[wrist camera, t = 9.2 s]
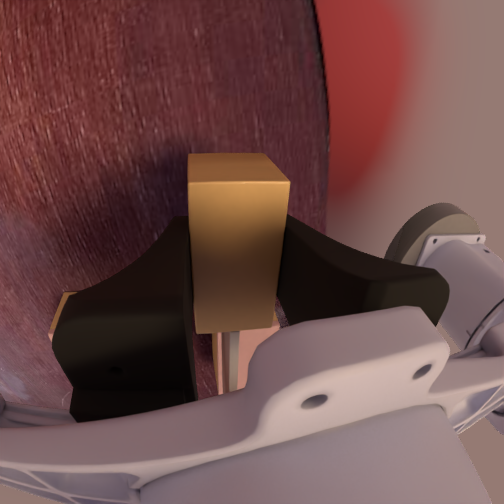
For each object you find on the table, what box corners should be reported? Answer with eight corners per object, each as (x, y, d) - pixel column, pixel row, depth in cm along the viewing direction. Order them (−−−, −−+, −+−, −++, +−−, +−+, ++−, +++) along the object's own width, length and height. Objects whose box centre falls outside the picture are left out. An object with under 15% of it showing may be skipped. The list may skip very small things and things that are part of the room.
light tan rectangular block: (264, 282, 23) (280, 325, 19) (256, 351, 27) (267, 392, 24) (210, 286, 22) (217, 331, 19) (212, 355, 27) (218, 397, 23)
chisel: (187, 153, 11) (187, 182, 8) (264, 152, 12) (291, 181, 9) (202, 387, 19) (207, 432, 16) (246, 382, 20) (256, 426, 17)
